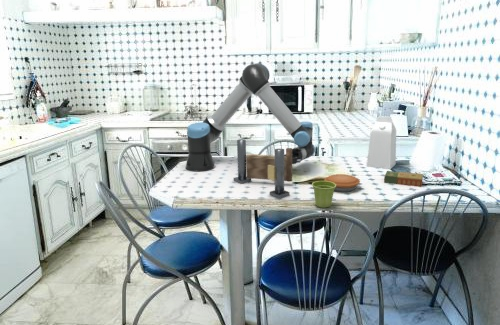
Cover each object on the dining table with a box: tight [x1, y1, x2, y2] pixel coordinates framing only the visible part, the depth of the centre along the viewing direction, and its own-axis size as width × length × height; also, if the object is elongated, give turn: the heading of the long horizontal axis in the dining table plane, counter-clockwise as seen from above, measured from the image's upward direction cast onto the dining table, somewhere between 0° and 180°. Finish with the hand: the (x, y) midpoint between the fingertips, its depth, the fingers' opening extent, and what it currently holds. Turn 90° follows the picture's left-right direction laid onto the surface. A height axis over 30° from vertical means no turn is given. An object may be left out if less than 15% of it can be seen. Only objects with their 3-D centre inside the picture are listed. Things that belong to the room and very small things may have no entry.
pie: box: [323, 173, 361, 193], centre depth 182 cm, size 16×16×5 cm
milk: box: [366, 115, 397, 170], centre depth 213 cm, size 12×12×26 cm
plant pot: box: [311, 180, 336, 209], centre depth 161 cm, size 9×9×9 cm
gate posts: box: [233, 138, 290, 200], centre depth 181 cm, size 32×6×20 cm, turn 38°
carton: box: [383, 170, 424, 188], centre depth 188 cm, size 8×16×4 cm, turn 65°
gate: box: [246, 147, 293, 182], centre depth 188 cm, size 21×3×15 cm, turn 73°
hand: (272, 165), depth 191 cm, fingers closed
